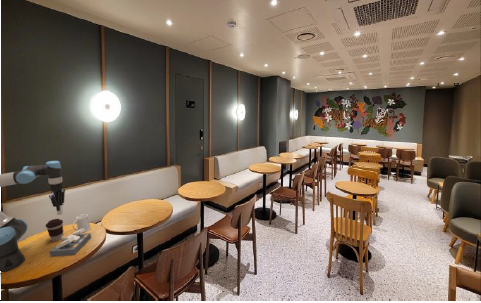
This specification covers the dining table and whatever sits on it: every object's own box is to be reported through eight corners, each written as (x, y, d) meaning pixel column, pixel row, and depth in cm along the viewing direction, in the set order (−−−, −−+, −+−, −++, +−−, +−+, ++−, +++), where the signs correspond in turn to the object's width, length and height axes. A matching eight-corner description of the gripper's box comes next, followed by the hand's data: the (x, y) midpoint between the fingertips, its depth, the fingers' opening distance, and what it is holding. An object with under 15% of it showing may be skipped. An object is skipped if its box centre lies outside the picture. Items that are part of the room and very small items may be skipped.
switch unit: (50, 256, 145) (49, 249, 144) (70, 239, 165) (69, 233, 164) (74, 254, 147) (73, 247, 146) (91, 237, 167) (90, 231, 166)
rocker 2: (60, 239, 152) (61, 236, 152) (65, 235, 156) (65, 232, 156) (75, 242, 153) (76, 239, 153) (79, 238, 158) (80, 236, 157)
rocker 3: (68, 238, 158) (66, 236, 158) (72, 235, 163) (70, 232, 162) (81, 233, 159) (79, 230, 158) (84, 230, 163) (83, 227, 163)
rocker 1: (56, 249, 147) (54, 246, 146) (61, 245, 151) (59, 242, 151) (70, 242, 147) (68, 240, 146) (74, 238, 151) (72, 236, 151)
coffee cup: (49, 237, 167) (46, 219, 164) (66, 233, 173) (63, 216, 170) (47, 244, 159) (43, 225, 156) (64, 239, 164) (61, 221, 162)
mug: (76, 235, 170) (74, 221, 168) (70, 233, 174) (68, 219, 171) (92, 228, 180) (90, 215, 178) (86, 226, 184) (84, 213, 182)
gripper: (54, 185, 146) (59, 218, 150) (68, 180, 159) (71, 210, 163) (42, 186, 146) (47, 218, 150) (57, 180, 158) (61, 210, 162)
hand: (60, 214), depth 156 cm, fingers closed
